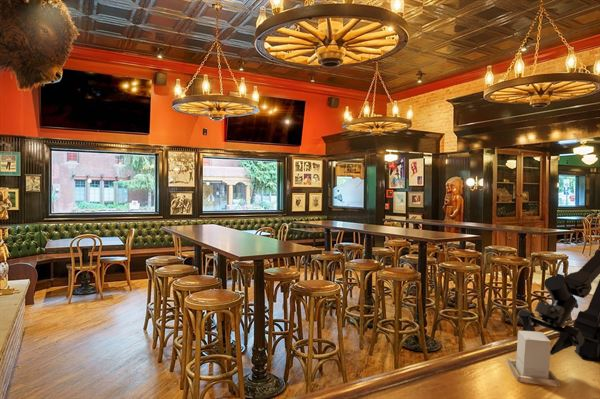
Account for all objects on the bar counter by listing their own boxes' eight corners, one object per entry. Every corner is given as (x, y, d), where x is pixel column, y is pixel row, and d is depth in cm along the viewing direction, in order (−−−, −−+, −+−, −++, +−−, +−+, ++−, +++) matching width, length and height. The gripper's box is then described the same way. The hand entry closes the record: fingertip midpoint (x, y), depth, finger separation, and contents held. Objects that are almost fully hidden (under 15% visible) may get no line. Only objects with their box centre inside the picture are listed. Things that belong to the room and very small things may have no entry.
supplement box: (548, 381, 125) (551, 341, 124) (522, 378, 127) (525, 339, 125) (540, 369, 132) (542, 331, 131) (515, 367, 134) (517, 329, 132)
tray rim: (544, 368, 134) (544, 363, 134) (559, 387, 123) (560, 382, 123) (506, 363, 136) (506, 358, 136) (517, 381, 125) (517, 376, 125)
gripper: (523, 285, 138) (499, 321, 134) (583, 303, 122) (557, 345, 117) (535, 305, 143) (512, 341, 138) (595, 325, 126) (570, 366, 122)
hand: (536, 347), depth 129 cm, fingers open, 9 cm apart
